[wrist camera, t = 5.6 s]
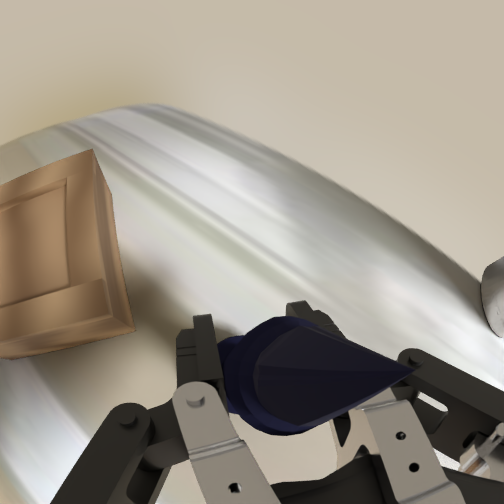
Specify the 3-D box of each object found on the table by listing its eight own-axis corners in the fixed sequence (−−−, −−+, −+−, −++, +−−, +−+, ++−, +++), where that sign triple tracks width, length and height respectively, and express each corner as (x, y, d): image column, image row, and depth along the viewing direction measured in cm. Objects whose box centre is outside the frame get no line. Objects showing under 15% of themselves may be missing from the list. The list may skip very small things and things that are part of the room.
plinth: (111, 193, 23) (92, 148, 17) (135, 330, 19) (108, 313, 13) (5, 232, 20) (-27, 199, 14) (11, 360, 16) (-35, 349, 10)
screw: (187, 371, 18) (242, 325, 20) (237, 424, 17) (290, 376, 19) (25, 339, 2) (365, 108, 4) (365, 613, 1) (549, 336, 3)
